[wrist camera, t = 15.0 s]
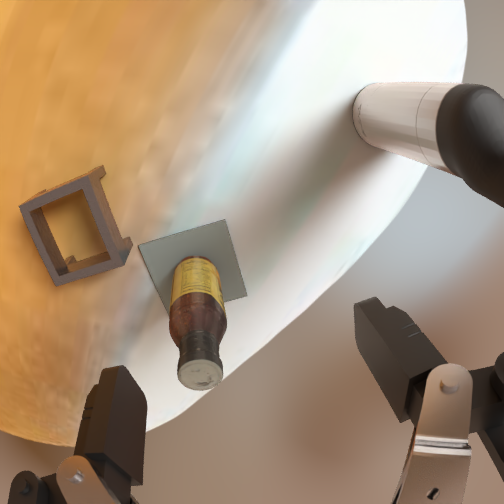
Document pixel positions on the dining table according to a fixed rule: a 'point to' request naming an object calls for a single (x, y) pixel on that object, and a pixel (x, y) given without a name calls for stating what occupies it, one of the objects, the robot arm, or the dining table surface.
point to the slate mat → (194, 244)
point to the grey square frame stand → (104, 221)
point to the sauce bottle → (197, 322)
